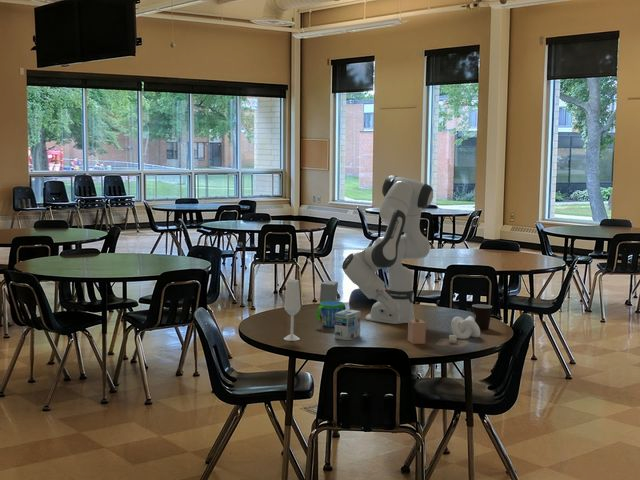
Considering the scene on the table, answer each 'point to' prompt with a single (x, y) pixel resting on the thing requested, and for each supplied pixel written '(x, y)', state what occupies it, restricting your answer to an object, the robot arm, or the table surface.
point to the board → (446, 343)
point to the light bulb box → (347, 324)
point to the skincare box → (328, 291)
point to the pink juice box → (416, 331)
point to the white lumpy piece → (465, 327)
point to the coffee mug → (482, 315)
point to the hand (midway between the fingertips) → (397, 312)
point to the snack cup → (329, 312)
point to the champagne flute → (292, 304)
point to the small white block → (453, 339)
